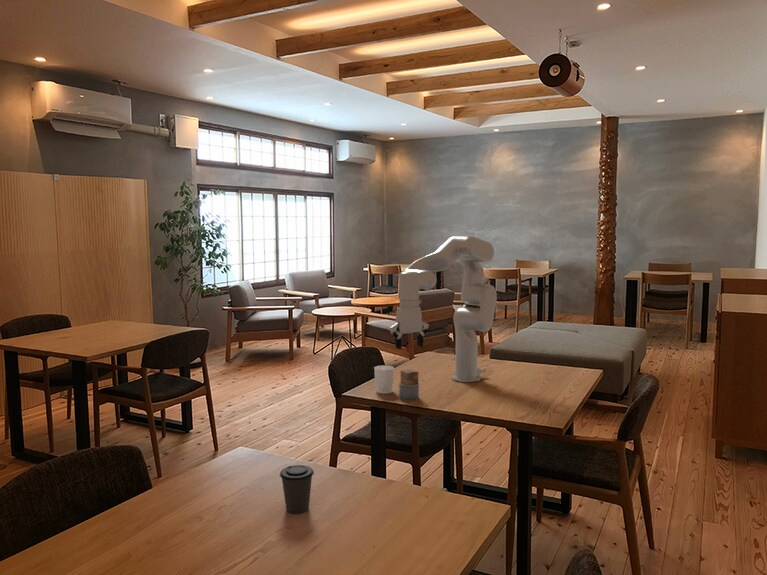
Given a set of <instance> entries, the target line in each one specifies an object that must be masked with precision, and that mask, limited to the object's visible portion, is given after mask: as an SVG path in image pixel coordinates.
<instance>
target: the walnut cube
mask: <svg viewBox="0 0 767 575" xmlns="http://www.w3.org/2000/svg"><path fill="white" fill-rule="evenodd" d="M400 382H401V383H402V384H405V385H407V386H409V385H415V384H418V383H419V370H416V369H413V368H408V369H401V370H400Z"/></svg>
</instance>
